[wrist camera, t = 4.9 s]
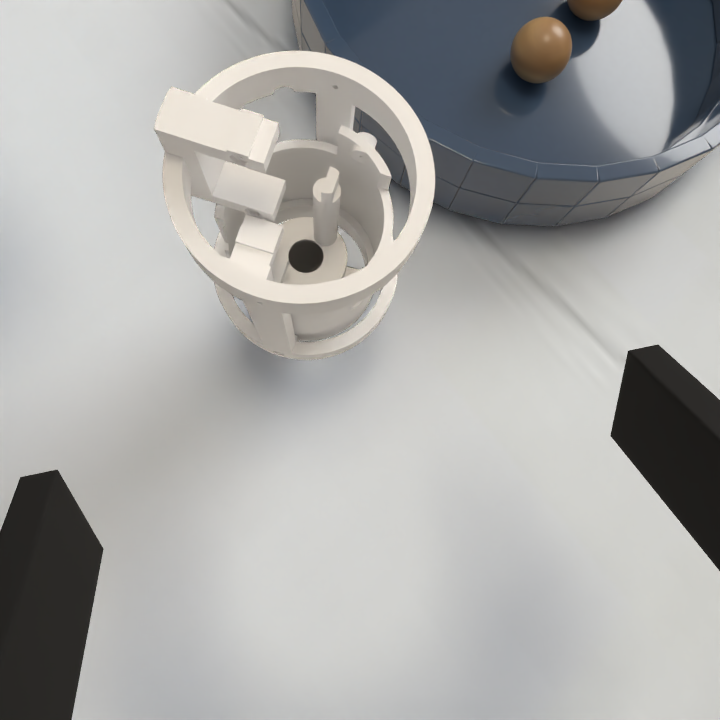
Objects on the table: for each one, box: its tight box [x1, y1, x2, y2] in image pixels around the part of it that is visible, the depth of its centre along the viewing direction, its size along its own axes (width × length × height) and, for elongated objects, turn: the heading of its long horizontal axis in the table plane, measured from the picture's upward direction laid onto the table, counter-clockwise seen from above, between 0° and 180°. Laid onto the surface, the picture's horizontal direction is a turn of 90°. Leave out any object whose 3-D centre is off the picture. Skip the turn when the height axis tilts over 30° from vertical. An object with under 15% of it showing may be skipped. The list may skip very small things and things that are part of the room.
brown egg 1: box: [510, 17, 572, 83], centre depth 30 cm, size 3×3×3 cm
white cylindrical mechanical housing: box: [154, 51, 435, 360], centre depth 22 cm, size 7×7×15 cm
